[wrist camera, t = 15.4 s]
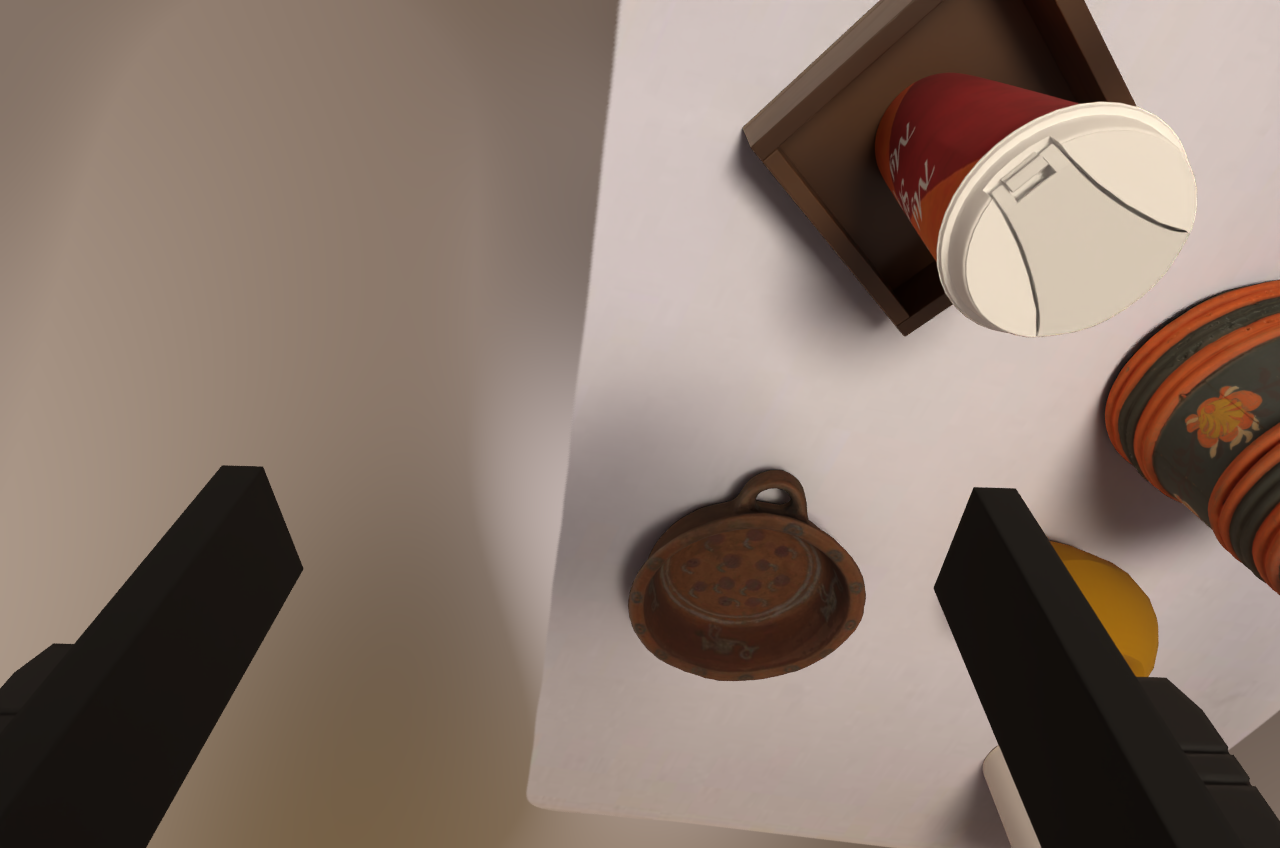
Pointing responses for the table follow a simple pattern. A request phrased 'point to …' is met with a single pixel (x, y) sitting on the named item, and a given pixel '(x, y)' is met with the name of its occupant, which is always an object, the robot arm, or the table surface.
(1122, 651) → the apple
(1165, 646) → the table surface
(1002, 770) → the canister
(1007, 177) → the coffee cup
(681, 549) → the dish
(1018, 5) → the square wooden tray
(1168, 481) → the beer stein
